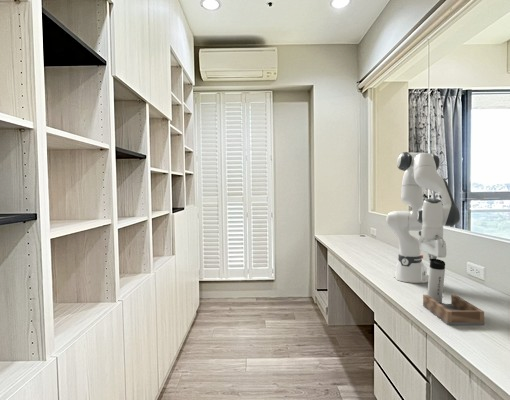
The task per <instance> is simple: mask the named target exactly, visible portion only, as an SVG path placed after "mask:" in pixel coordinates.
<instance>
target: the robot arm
mask: <svg viewBox="0 0 510 400" xmlns="http://www.w3.org/2000/svg"><path fill="white" fill-rule="evenodd" d="M440 164H441V163H440V158H439V156H438V155H436V154H433V153H429V152H412V151H411V152H408V151H404V152H401V153H400V154H399V155H398V157H397V158H396V165H397V168H398V170H400V171H403V172H404V173H403V176H402V180H401V191H400V200H401V202H402V203H403V204H404V205H406V206H408V207H410V208H411V210H394V211H389V212H388V214H386V217H385V223H386V226H387V227H388V228H389V229H390V230H391V231H392V232H394V234H395V235H396V238H397V241H398V250H399V251H398V256H397V260H398V261H397V262H396V265H395V274H393V275H392V276H393V278H395V279H396V280H397V281H399V282H403V283H410V284H411V283H413V284H414V283H416V284H419V283H422V284H424V283H427V284H428V280H429V273H428V268H427V266H426V265H425V264H424V263H423V260H422V259H424V255H423V254H421V252H424V253H427V258H428V263H429V264H430V261H429V259H430V258H432V259H438V258H440V259H441V258H443V259H444V258H445V259H446V257H447V245H446V244H447V243H446V241H445V240H444V226H445V227H454V226H455V225H457V224H458V223H459V222H460V219H461V214H460V210H459V208H458V206H457V204H456V202H455V199H454V198H453V194H452V192H451V189H450V187H449V184H448V181H447V180H446V179H445V178H443V177H441V176H440V174H439V173H438V169H439V167H440ZM423 189H426V190H429V191H433V192H434V193H438V194H439V195H440V197H441V199H438V198H426V199H424V200H423ZM410 231H414V232H416V231H417V235H418V236H419V237H418V238H417V237H415V236H413V235H411V234H410Z"/></svg>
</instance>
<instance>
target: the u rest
mask: <svg viewBox="0 0 510 400" xmlns="http://www.w3.org/2000/svg"><path fill="white" fill-rule="evenodd" d="M450 295H451V296H450V297H451V298H450V303H441V304H440V303H438V302H437V301H435V300H434V299H432V298H431V297H430V296H428V295H427V294H422V306H423V307H424V308H425V309H426V310H427V311H429V312H430V313H431V314H432V315H433V316H437V317H436V318H437V319H438V320H440V319H441V320H440V321H442V322H443V323H444V324H445V325H447V326H485V311H484V310H482V309H481V308H478V307H477V306H476V305H473V304H472V303H470V302H469V301H468V300H465V299H464V298H461V296H459V295H457V294H455V293H454V294H450Z"/></svg>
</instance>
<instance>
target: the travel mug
mask: <svg viewBox="0 0 510 400" xmlns="http://www.w3.org/2000/svg"><path fill="white" fill-rule="evenodd" d="M429 261H430V263H429V268H428V269H429V270H428V275H429V280H428V282H427V294H426V295H428V296H430V297H431V298H432V299H434V300H435V301H437V302H438V303H440V304H443V293H444V284H445V283H444V282H445V274H446V272H445V271H446V262H445V261H444V260H441V259H438V258H436V259H432V258H430V259H429V258H428V262H429Z"/></svg>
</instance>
